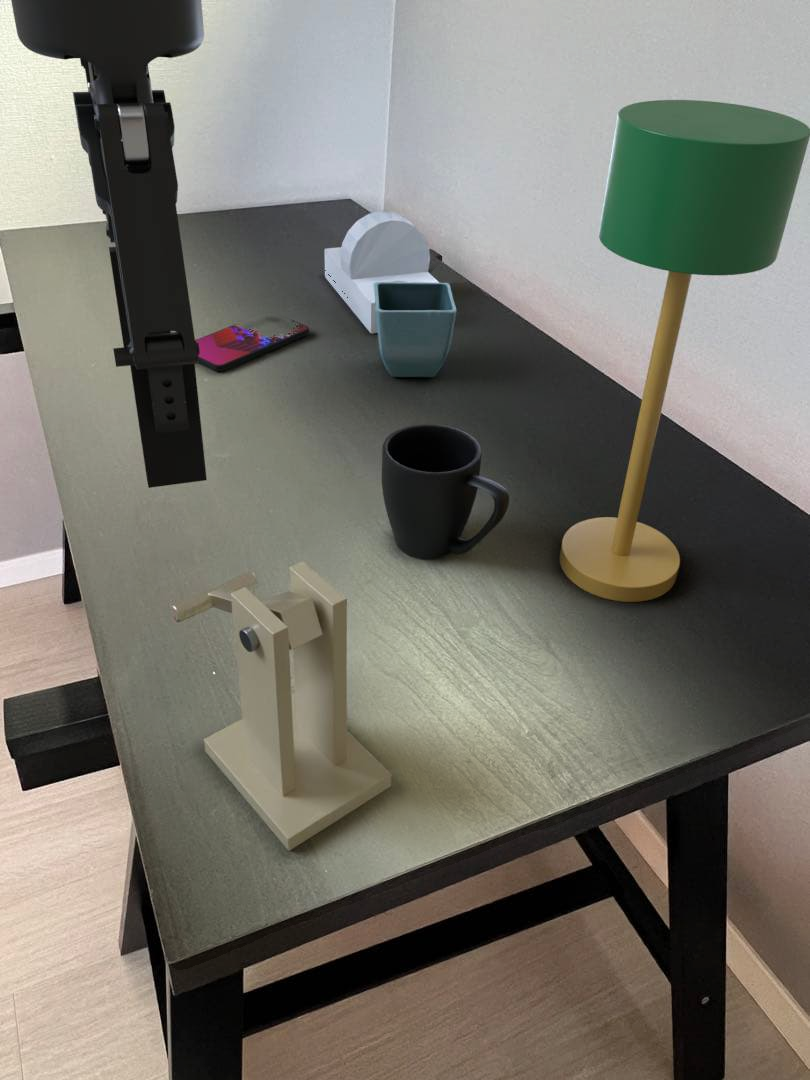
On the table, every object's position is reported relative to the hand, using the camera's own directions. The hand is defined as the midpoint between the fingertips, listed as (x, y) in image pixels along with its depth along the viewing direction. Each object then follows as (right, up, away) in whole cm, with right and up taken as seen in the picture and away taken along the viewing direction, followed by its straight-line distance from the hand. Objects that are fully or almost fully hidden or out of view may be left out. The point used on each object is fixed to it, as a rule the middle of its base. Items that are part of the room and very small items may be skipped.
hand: (161, 413), depth 50 cm
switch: (+4, -12, +9) cm, 15 cm away
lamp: (+31, -9, +32) cm, 45 cm away
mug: (+16, -8, +33) cm, 37 cm away
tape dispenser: (+10, +26, +78) cm, 82 cm away
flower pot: (+14, +13, +61) cm, 64 cm away
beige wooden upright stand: (+6, -22, +12) cm, 26 cm away
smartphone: (-6, +17, +65) cm, 67 cm away
